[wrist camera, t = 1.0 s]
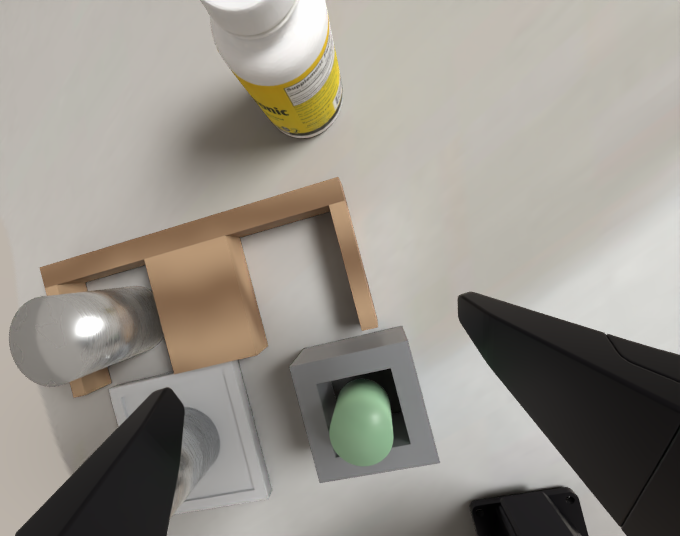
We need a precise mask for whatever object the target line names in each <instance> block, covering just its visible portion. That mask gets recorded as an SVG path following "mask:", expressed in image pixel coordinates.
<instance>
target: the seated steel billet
mask: <svg viewBox="0 0 680 536" xmlns="http://www.w3.org/2000/svg"><path fill="white" fill-rule="evenodd" d="M163 337H164V333H163V329H162V326H161V322H160V318H159V314H158V310H157V306H156V303H155V299H154V295H153V291H151V290H150V289H147V288H145V287H141V286H130V287H122V288H113V289H104V290H95V291H86V292H78V293H69V294H60V295H51V296H42V297H37V298H34V299H31V300H30V301H28V302H26V303H25V304H24V305H23V306H22V307H21V308H20V309H19V310H18V311H17V313H16V314H15V316H14V318H13V320H12V323H11V326H10V332H9V345H10V350H11V354H12V357H13V359H14V361H15V363H16V365H17V367H18V368H19V369H20V371H21V372H22V373H23V374H24V375H25V376H26V377H27V378H29V379H30V380H32V381H33V382H35V383H37V384H40V385H43V386H49V387H53V386H60V385H63V384H66V383H68V382H71V381H73V380H76V379H78V378H81V377H83V376H86V375H88V374H91V373H93V372H96V371H98V370H101V369H103V368H106V367H108V366H110V365H113V364H115V363H118V362H120V361H123V360H125V359H128V358H130V357H133V356H135V355H138V354H140V353H143V352H145V351H148V350H150V349H152V348H154V347H155V346H156V345H158V344H159V343H160V341H161V340H162V339H163Z"/></svg>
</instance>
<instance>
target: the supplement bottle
mask: <svg viewBox="0 0 680 536" xmlns="http://www.w3.org/2000/svg"><path fill="white" fill-rule="evenodd" d="M200 1H201V2H202V4H203V5H204V7H205V8H206V10H207V11H208V13H209V15H210V24H211V31H212V35H213V39H214V42H215V45H216V47H217V49H218V51H219V53H220V55H221V57H222V58H223V60H224V61H225V63H226V64H227V65H228V67H229V68H230V70H231V71H232V72H233V73H234V75H235V76H236V77H237V78H238V80H239V81H240V82H241V84H242V85H243V86H244V88H245V89H246V90H247V91H248V93H249V94H250V95H251V96H252V98H253V99H254V100H255V102H256V103H257V104H258V105H259V107H260V108H261V109H262V110H263V112H264V113H265V114H266V116H267V117H268V118H269V119H270V121H271V122H272V123H273V124H274V125H275V126H276V127H277V128H278V129H279V130H280V131H282V132H283V133H285V134H287V135H289V136H292V137H296V138H309V137H313V136H316V135H318V134H320V133H322V132H323V131H325V130H326V129H327V128H328V127H330V126H331V125H332V123H333V122H334V121H335V119H336V118H337V116H338V114H339V112H340V109H341V106H342V101H343V88H342V81H341V76H340V71H339V66H338V61H337V57H336V52H335V47H334V42H333V37H332V32H331V27H330V22H329V17H328V11H327V6H326V3H325V0H200Z"/></svg>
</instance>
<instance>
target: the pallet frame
mask: <svg viewBox="0 0 680 536" xmlns="http://www.w3.org/2000/svg"><path fill="white" fill-rule="evenodd" d="M330 211H331V215H332V219H333V223H334V227H335V230H336V234H337V238H338V242H339V246H340V249H341V253H342V257H343V261H344V265H345V268H346V272H347V276H348V280H349V284H350V287H351V291H352V295H353V299H354V303H355V306H356V310H357V314H358V318H359V322H360V325H361V329H362V331H364V330H368V329H372V328H376V327H378V320H377V316H376V313H375V309H374V305H373V301H372V297H371V294H370V290H369V286H368V282H367V278H366V275H365V271H364V267H363V263H362V259H361V256H360V252H359V248H358V244H357V240H356V237H355V233H354V229H353V225H352V221H351V217H350V214H349V210H348V206H347V202H346V198H345V195H344V191H343V187H342V184H341V182H340V180H339V177H336V178H333V179H330V180H326V181H323V182H320V183H316V184H313V185H310V186H307V187H303V188H300V189H297V190H293V191H290V192H287V193H284V194H280V195H277V196H274V197H270V198H267V199H264V200H261V201H257V202H254V203H251V204H247V205H244V206H241V207H237V208H234V209H231V210H228V211H224V212H221V213H218V214H214V215H211V216H208V217H205V218H201V219H198V220H195V221H191V222H188V223H185V224H182V225H178V226H175V227H172V228H168V229H165V230H162V231H159V232H155V233H152V234H149V235H145V236H142V237H139V238H136V239H132V240H129V241H126V242H122V243H119V244H116V245H112V246H109V247H106V248H103V249H99V250H96V251H93V252H89V253H86V254H83V255H80V256H76V257H73V258H70V259H66V260H63V261H60V262H57V263H53V264H50V265H47V266H43V267H40V271H41V275H42V279H43V283H44V286H45V290H46V294H47V296H51V295H60V294H69V293H78V292H86V291H87V287H86V284H85V282H88V281H92V280H95V279H99V278H102V277H106V276H109V275H113V274H116V273H120V272H123V271H126V270H130V269H133V268H137V267H140V266H144V265H146V268H147V272H148V276H149V280H150V284H151V287H152V291H153V295H154V299H155V303H156V306H157V310H158V314H159V318H160V322H161V326H162V329H163V333H164V337H165V341H166V345H167V348H168V352H169V356H170V360H171V364H172V367H173V371H174V374H178V373H183V372H187V371H191V370H196V369H200V368H204V367H208V366H213V365H217V364H221V363H226V362H230V361H234V360H239V359H243V358H247V357H252V356H256V355H258V354H259V353H260V352H261V351H263V350H264V349H265V348H266V347H268V343H267V339H266V336H265V332H264V328H263V324H262V320H261V317H260V313H259V309H258V305H257V301H256V298H255V294H254V290H253V286H252V282H251V278H250V275H249V271H248V267H247V263H246V259H245V256H244V252H243V248H242V244H241V240H240V237H244V236H247V235H251V234H254V233H258V232H261V231H265V230H268V229H272V228H275V227H278V226H282V225H285V224H289V223H292V222H296V221H299V220H303V219H306V218H310V217H313V216H316V215H320V214H323V213H327V212H330ZM110 383H111V379H110V375H109V371H108V367H106V368H103V369H101V370H98V371H96V372H93V373H91V374H88V375H86V376H83V377H81V378H78V379H76V380H73V381H71V382H70V385H71V389H72V393H73V397H74V398H75V397H79V396H84V395H87V394H89V393H91V392H93V391H95V390H97V389H100V388H102V387H104V386H106V385H108V384H110Z"/></svg>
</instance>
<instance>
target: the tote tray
mask: <svg viewBox="0 0 680 536" xmlns="http://www.w3.org/2000/svg"><path fill="white" fill-rule="evenodd" d="M165 387H169V388H171V389H172V390H173V391H174V393H175V394H176V395H177V397H178V398H179V399H180V401H181V402H182V403H183V405H184V407H190V408H194V409H197V410H199V411H201V412H203V413H204V414H206V415H207V416H208V417H209V418H210V419H211V420H212V422H213V423H214V425H215V426H216V428H217V430H218V434H219V438H220V450H219V454H218V457H217V459H216V461H215V462H214V464H213V465H212V466H211V468H210V469H209V470H208V472H207V473H206V474H205V475H204V477H203V478H202V479H201V480H200V482H199V483H198V484H197V486H196V487H195V488H194V489H193V491H192V492H191V493H190V494H189V496H188V497H187V498H186V499H185V501H184V502H183V503H182V505H181V506H180V507H179V508H178V510H177V511H176V512H175V513H174V515H176V514H182V513H188V512H194V511H200V510H206V509H212V508H218V507H224V506H231V505H237V504H243V503H249V502H255V501H261V500H267V499H268V498H269V496H270V494H271V492H272V488H271V484H270V480H269V476H268V473H267V469H266V465H265V461H264V457H263V454H262V450H261V446H260V442H259V438H258V435H257V431H256V427H255V423H254V419H253V415H252V412H251V408H250V404H249V400H248V396H247V393H246V389H245V385H244V381H243V377H242V374H241V370H240V366H239V362H238V360H234V361H230V362H226V363H221V364H217V365H213V366H208V367H204V368H200V369H196V370H191V371H187V372H183V373H178V374H174V372H170V373H166V374H162V375H157V376H153V377H149V378H144V379H140V380H136V381H132V382H127V383H123V384H119V385H116V386H114V387H112V388H110V389H109V393H110V397H111V401H112V405H113V409H114V412H115V416H116V420H117V424H118V427H119V426H120V425H121V424H122V423H123V422H124V421H125V420H126V419H127V418H128V417H129V416H130V415H131V414H132V413H133V412H134V411H135V410H136V409H137V408H138V407H139V406H140V404H141V403H142V402H143V401H144V400H145V399H146V398H147V397H148V396H149V395H150V394H151V393H152V392H154V391H156V390H159V389H162V388H165Z"/></svg>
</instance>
